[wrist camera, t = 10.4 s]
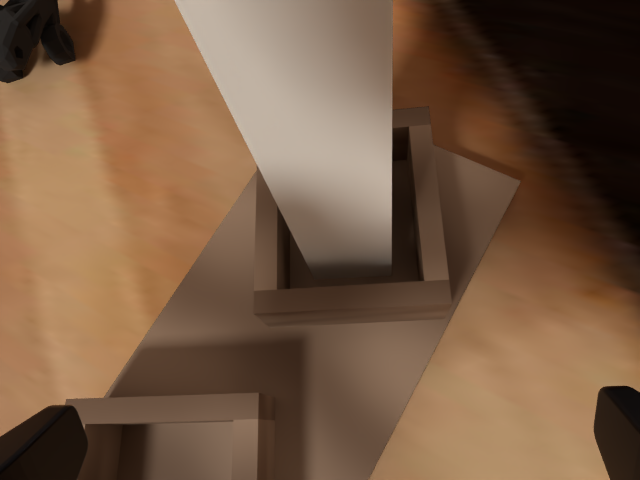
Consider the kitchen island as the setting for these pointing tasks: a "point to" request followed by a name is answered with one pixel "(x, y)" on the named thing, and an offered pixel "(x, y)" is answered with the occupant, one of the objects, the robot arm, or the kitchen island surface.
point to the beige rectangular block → (312, 116)
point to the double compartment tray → (297, 336)
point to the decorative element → (31, 35)
